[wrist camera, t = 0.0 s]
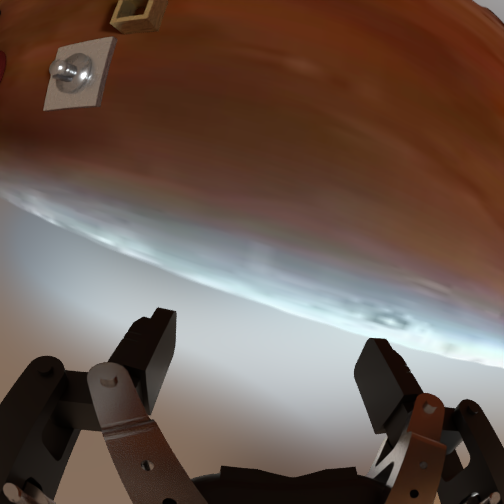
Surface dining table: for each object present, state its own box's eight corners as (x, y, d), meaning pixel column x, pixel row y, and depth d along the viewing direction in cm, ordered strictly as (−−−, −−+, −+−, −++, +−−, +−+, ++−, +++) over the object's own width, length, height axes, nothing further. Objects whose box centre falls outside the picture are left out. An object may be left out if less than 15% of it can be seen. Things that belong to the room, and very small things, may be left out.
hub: (134, 5, 27) (122, -8, 23) (168, 1, 28) (159, -13, 23) (123, 34, 29) (109, 23, 24) (158, 31, 29) (147, 18, 25)
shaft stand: (63, 49, 29) (40, 40, 22) (117, 39, 29) (96, 24, 23) (48, 111, 33) (22, 108, 26) (100, 106, 33) (75, 100, 27)
